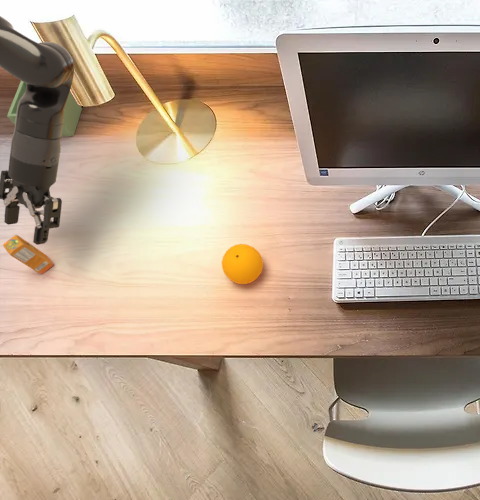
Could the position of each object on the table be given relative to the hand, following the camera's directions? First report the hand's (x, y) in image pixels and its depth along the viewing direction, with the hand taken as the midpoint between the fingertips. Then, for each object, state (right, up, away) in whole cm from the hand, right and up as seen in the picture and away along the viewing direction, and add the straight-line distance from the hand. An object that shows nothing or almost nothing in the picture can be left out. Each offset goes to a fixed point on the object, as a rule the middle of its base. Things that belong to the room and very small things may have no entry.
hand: (25, 233), depth 96 cm
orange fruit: (+42, -8, +5) cm, 43 cm away
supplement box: (-1, -7, +8) cm, 10 cm away
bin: (-10, +29, +27) cm, 41 cm away
